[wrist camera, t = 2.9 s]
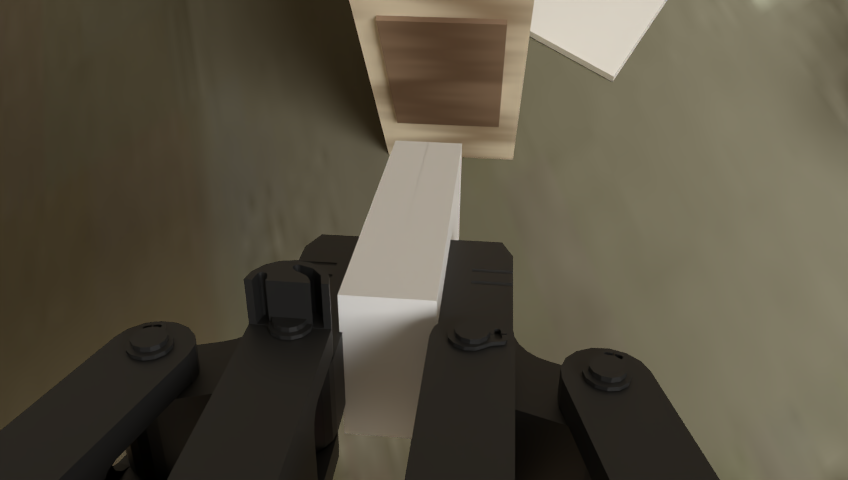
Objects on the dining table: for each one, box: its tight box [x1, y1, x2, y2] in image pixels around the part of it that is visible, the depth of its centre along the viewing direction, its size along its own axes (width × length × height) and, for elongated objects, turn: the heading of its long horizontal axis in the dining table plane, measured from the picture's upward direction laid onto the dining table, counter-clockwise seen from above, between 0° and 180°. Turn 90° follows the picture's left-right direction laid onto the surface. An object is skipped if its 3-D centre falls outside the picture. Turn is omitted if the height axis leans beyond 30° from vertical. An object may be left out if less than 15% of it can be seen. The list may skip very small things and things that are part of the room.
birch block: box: [349, 0, 534, 160], centre depth 31 cm, size 6×6×14 cm
